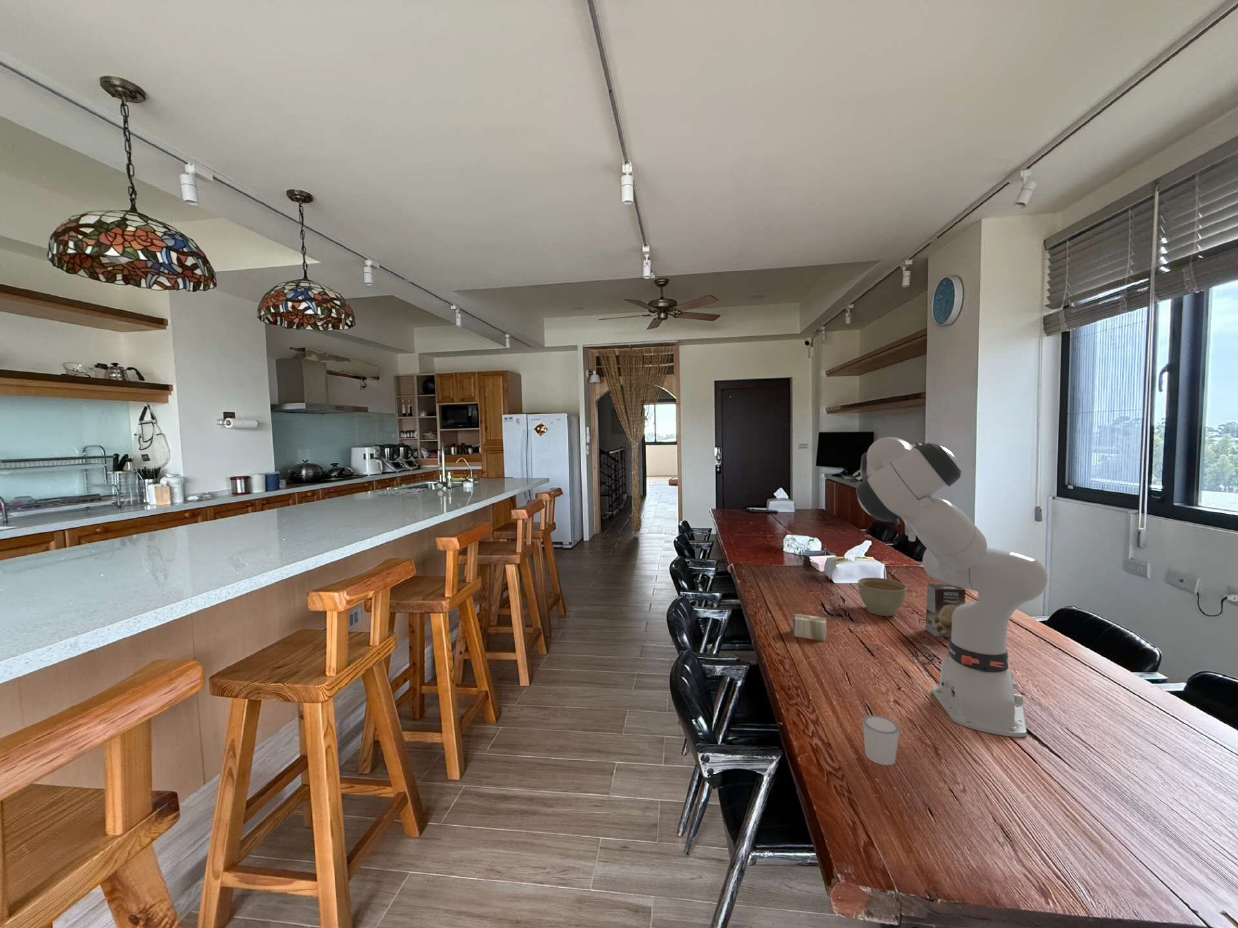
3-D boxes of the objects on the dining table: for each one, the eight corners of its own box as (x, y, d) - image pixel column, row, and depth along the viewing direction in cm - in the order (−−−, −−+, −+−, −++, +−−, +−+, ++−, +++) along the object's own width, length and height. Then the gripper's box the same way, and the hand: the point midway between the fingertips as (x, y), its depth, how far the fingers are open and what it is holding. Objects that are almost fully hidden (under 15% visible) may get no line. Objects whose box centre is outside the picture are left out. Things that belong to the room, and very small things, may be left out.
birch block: (825, 623, 161) (793, 618, 165) (825, 641, 161) (792, 635, 166) (826, 617, 165) (794, 613, 170) (826, 635, 166) (794, 630, 170)
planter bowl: (863, 618, 181) (863, 588, 180) (853, 603, 196) (853, 576, 196) (912, 621, 177) (913, 591, 176) (898, 606, 193) (898, 578, 192)
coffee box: (934, 636, 164) (936, 588, 163) (924, 629, 170) (926, 583, 169) (964, 637, 163) (966, 589, 162) (953, 630, 169) (954, 583, 168)
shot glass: (866, 741, 109) (866, 710, 108) (901, 754, 104) (902, 722, 104) (858, 757, 103) (858, 725, 103) (895, 771, 99) (896, 737, 98)
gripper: (897, 490, 167) (895, 531, 168) (902, 497, 148) (901, 543, 149) (918, 491, 164) (917, 532, 165) (927, 498, 146) (926, 545, 146)
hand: (910, 537), depth 157 cm, fingers open, 8 cm apart
